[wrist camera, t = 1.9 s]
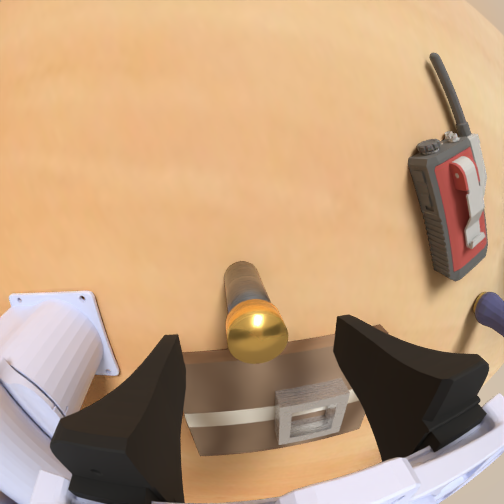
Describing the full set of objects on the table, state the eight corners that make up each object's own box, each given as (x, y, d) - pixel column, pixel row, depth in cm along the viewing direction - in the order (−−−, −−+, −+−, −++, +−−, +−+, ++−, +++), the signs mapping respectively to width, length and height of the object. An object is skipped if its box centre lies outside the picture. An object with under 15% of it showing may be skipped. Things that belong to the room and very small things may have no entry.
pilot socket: (274, 429, 23) (278, 445, 21) (275, 391, 21) (280, 407, 19) (332, 417, 24) (339, 431, 22) (341, 377, 22) (350, 392, 20)
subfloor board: (199, 445, 25) (200, 456, 23) (171, 353, 21) (169, 365, 19) (354, 419, 27) (359, 429, 25) (380, 324, 23) (389, 333, 21)
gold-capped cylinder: (223, 297, 20) (230, 366, 13) (219, 260, 19) (224, 318, 12) (262, 293, 20) (287, 359, 13) (260, 256, 19) (288, 310, 12)
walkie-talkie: (482, 241, 23) (429, 55, 16) (510, 254, 18) (462, 44, 12) (432, 284, 23) (362, 70, 16) (461, 303, 19) (395, 54, 12)
